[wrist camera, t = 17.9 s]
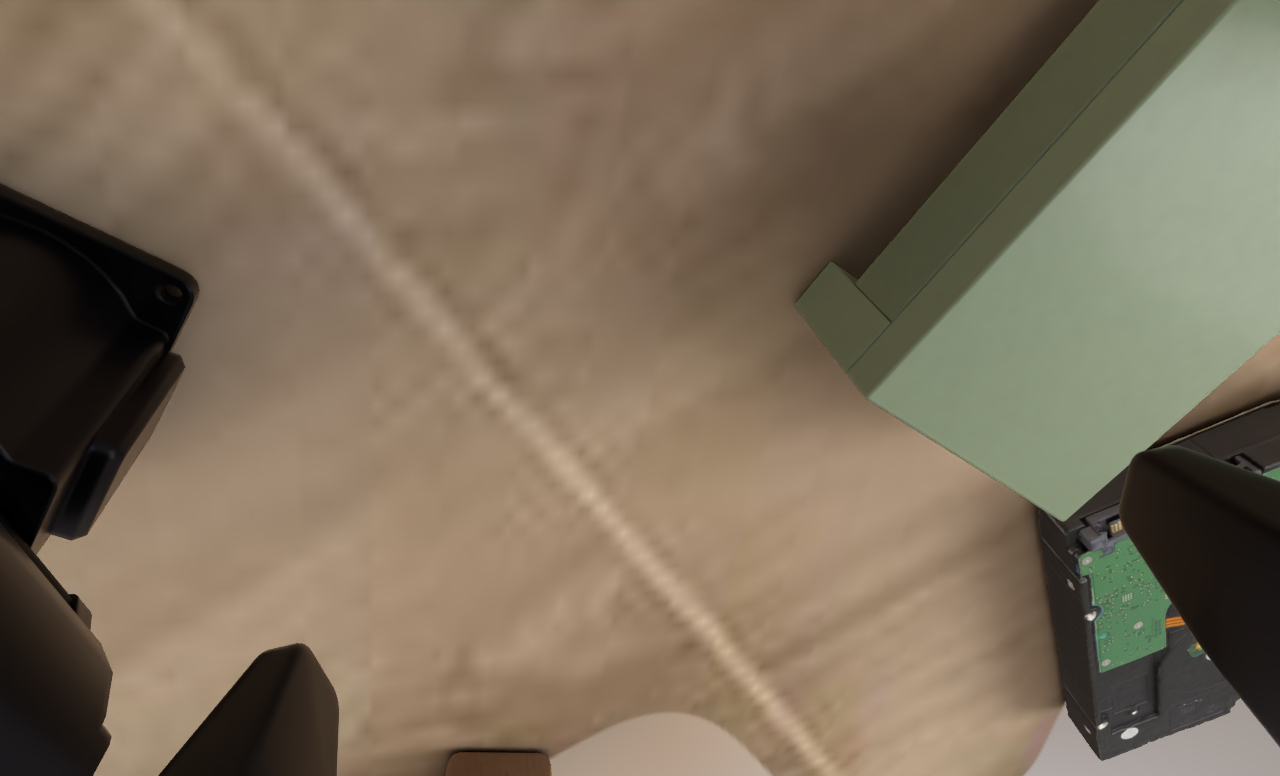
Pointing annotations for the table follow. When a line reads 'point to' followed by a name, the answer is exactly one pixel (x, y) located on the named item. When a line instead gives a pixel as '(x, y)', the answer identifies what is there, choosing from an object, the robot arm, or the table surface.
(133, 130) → the table surface
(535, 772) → the wooden block
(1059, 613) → the disk drive
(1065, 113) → the sage green box
